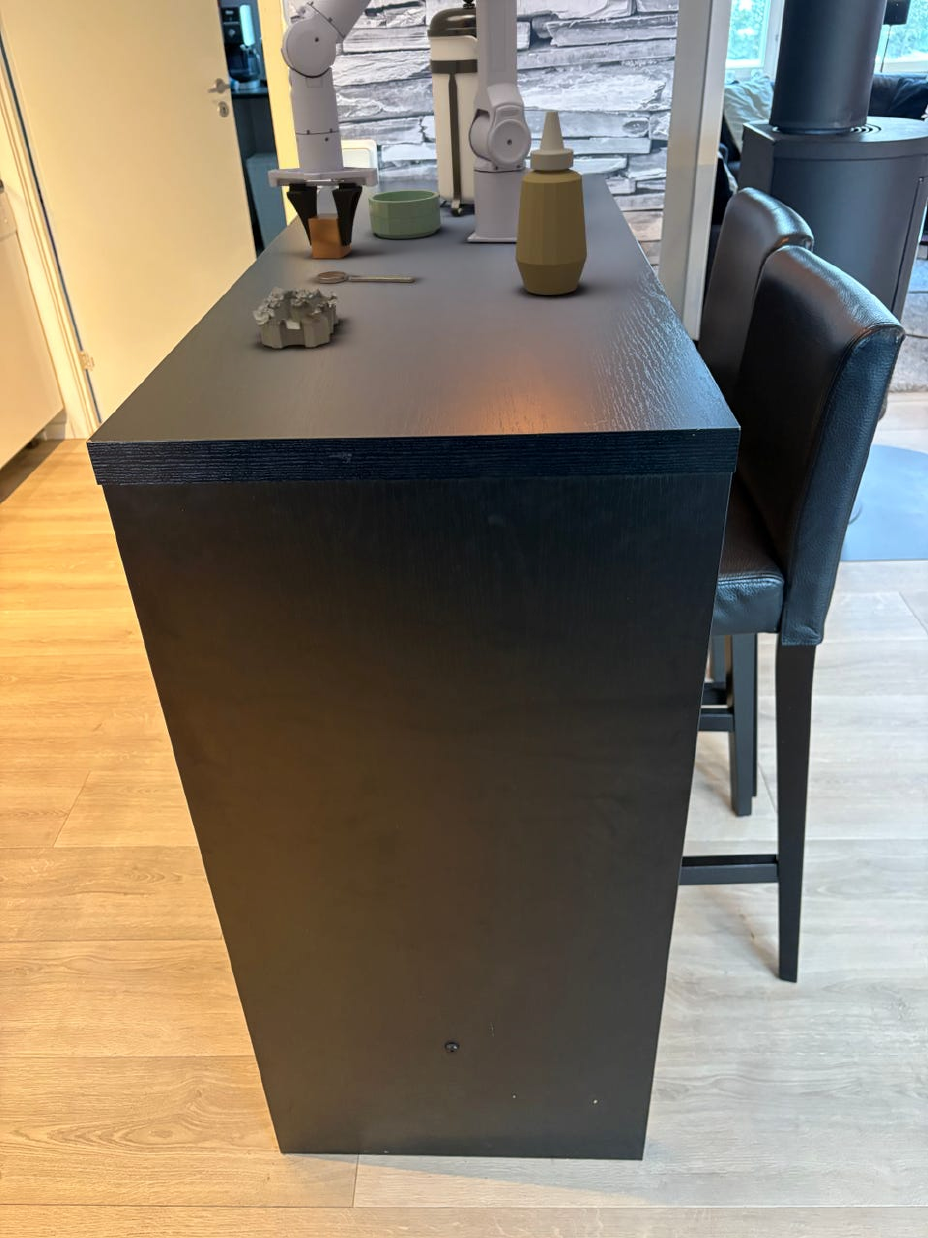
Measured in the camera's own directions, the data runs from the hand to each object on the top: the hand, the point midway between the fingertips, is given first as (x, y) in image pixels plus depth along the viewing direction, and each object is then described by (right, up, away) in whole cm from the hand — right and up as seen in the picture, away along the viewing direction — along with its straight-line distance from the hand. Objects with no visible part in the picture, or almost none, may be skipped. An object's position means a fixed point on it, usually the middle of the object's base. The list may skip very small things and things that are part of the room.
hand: (330, 244), depth 126 cm
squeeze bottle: (+28, -13, -20) cm, 37 cm away
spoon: (+6, -9, -12) cm, 16 cm away
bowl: (+10, +6, +11) cm, 16 cm away
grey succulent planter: (+1, -21, -29) cm, 36 cm away
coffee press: (+19, +17, +26) cm, 37 cm away
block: (0, -1, +1) cm, 1 cm away
